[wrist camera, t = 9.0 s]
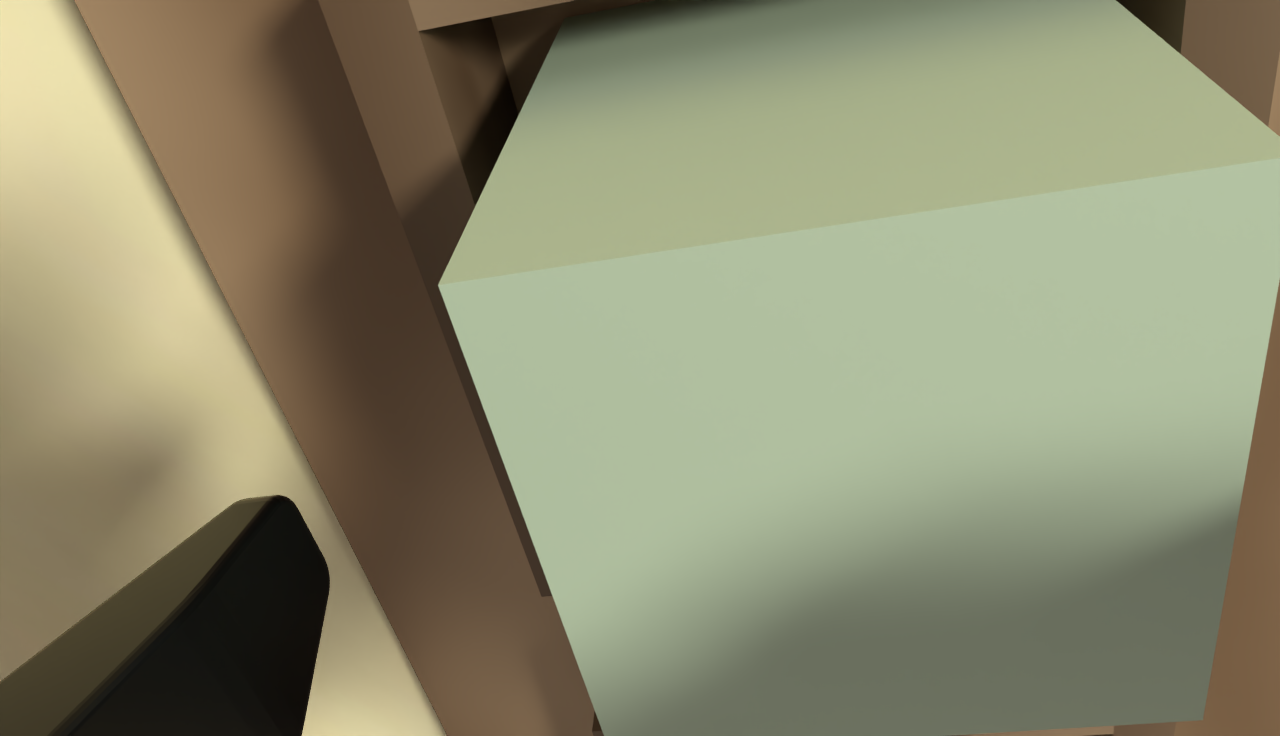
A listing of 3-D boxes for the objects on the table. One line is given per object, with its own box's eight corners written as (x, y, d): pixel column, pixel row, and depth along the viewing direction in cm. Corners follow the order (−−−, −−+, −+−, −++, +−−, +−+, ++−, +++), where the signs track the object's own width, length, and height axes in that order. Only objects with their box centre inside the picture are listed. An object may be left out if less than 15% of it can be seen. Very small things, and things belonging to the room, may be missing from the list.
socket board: (1704, -756, 8) (2249, -993, 5) (1268, 855, 21) (1354, 1039, 18) (-7, -281, 11) (-272, -266, 8) (549, 881, 24) (525, 1045, 21)
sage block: (1023, 327, 13) (1203, 719, 8) (652, 375, 14) (612, 756, 9) (1027, -74, 10) (1302, 155, 5) (564, 18, 11) (439, 285, 6)
